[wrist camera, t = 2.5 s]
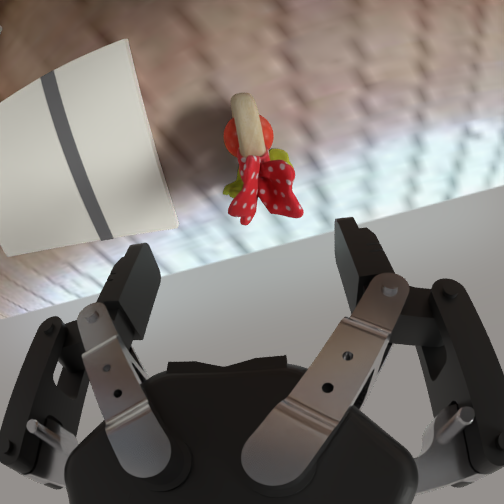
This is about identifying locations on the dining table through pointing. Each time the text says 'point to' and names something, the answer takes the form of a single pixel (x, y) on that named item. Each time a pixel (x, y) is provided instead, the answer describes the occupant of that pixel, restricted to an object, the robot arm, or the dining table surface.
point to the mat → (80, 158)
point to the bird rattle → (257, 165)
